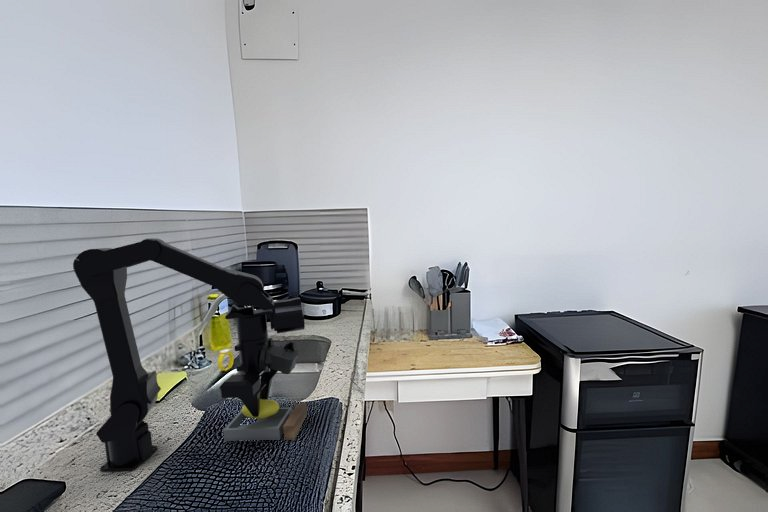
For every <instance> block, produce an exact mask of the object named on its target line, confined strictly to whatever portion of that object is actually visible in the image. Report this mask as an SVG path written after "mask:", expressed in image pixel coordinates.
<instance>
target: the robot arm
mask: <svg viewBox="0 0 768 512" xmlns="http://www.w3.org/2000/svg"><path fill="white" fill-rule="evenodd" d="M149 261H152V262H154V263H156V264H159V265H160V266H163V267H166V268H169V269H171V270H173V271H176V272H178V273H180V274H181V275H182V274H183V275H185V276H187V277H190V278H193V279H195V280H196V281H200V282H202V283H204V284H206V285H209V286H211V287H212V288H214V289H216V290H218V291H219V292H220V293H221V294H223V295H224V296H225V297H227V298H229V299H230V300H232V301H233V302H235V303H236V304H238V305H239V306H242V307H239V306H237V305H236V304H232V306H231V308H230V310H229V311H227V312H226V315H225V316H224V319H225V320H233V319H235V322H236V331H237V341H238V343H237V344H235V345H234V352H239V361H240V363H239V364H238V365H237V366H236V372H243V373H240V374H239V373H237V374H231V375H230V376H229V377H228V378H227V379H226V380H224V381H223V383H221V384H220V386H219V396H220V398H221V399H230V398H231V399H235V398H236V399H239V400H240V401H241V402H242V403H243V406H244V405H245V406H246V407H247V409H248V410H249V412H250V413H251V414H252V416H253V417H258V416H259V409H260V399H264V400H269V397H270V392H271V388H272V382H273V378H274V376H275V375H276V374H277V373H278V372H280V373H281V374H284V375H289V374H291V372H292V371H293V370H294V369H295V368H296V363H297V360H298V358H299V357H300V353H299V350H298V348H297V343H296V342H294V341H290V340H289V341H288V342H287V343H286V344H285V345H284V346H283V345H282V344H281V345H280V346H278V345H275V343H274V339H273V338H272V337H269V333H268V324H267V323H268V321H267V315H269V321H270V322H269V323H270V330H273V331H274V332H276V334H283V333H290V332H295V331H296V332H297V331H303V330H305V327H306V326H305V315H304V312H303V308H302V300H301V298H300V297H293V298H290V299H283V300H281V299H280V300H274V299H273V298H272V296H271V295H270V294H268V292H266V291H265V290H264V284H263V281H262V279H260V277H258V276H257V275H255V274H251V273H248V272H244V271H243V272H242V271H239V270H234V269H230V268H225V267H221V266H220V265H217V264H214V263H212V262H210V261H208V260H205V259H203V258H201V257H198V256H196V255H194V254H192V253H189V252H187V251H185V250H183V249H180V248H177V247H175V246H174V245H171V244H169V243H167V242H165V241H164V240H163V239H160V238H156V237H155V238H154V237H153V238H152V237H151V238H145V239H142V240H141V241H137V242H133V243H130V244H126V245H122V246H119V247H114V248H112V247H104V248H103V247H100V248H90V249H86V250H83V251H82V252H80V253H79V254H78V255H77V256H76V257H75V259H74V260H73V263H72V268H73V271H74V273H75V276H76V278H77V280H78V281H79V284H80V286H81V287H82V289H83V290H84V292H85V293H86V294H87V295H88V297H90V298H91V300H92V301H93V303H94V307H95V310H96V315H97V319H98V323H99V327H100V331H101V335H102V338H103V339H102V340H103V343H104V346H105V350H106V354H107V359H108V362H109V363H108V364H109V367H110V370H111V375H112V384H111V389H110V396H109V405H110V406H109V407H110V416H109V418H107V420H106V421H105V422H104V423H103V425H101V427H100V428H99V429H98V430H97V431H96V436H97V438H98V439H99V440H100V442H101V443H102V444H103V443H104V447H105V455H106V462H105V463H104V464H103V465H102V466H100V467H99V470H100V471H101V472H102V471H103V472H107V471H108V472H111V471H112V472H113V471H114V472H115V471H133V470H136V469H137V467H139V466H140V465H141V464H142V463H144V461H145V460H146V459H148V458H149V457H150V456H151V455H152V454H153V453H154V452H156V451H157V450H158V445H153V441H152V440H153V439H152V434H151V433H152V431H150V430H149V423H148V422H145V421H144V420H145V418H146V417H147V416H148V414H149V412H150V411H151V409H152V408H153V407H154V404H155V403H156V402H157V399H158V396H159V392H160V391H161V390H162V388H161V387H160V385H159V384H158V380H157V379H158V378H157V377H158V374H157V370H154V371H151V372H149V373H148V372H147V371H146V369H145V368H144V367H143V364H142V362H141V359H140V353H139V350H138V345H137V341H136V338H135V333H134V328H133V325H132V321H131V316H130V313H129V309H128V304H127V299H126V295H125V293H126V287H127V279H128V268H130V267H134V266H137V265H140V264H143V263H146V262H149ZM254 307H255V308H257V309H255V308H254Z"/></svg>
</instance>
